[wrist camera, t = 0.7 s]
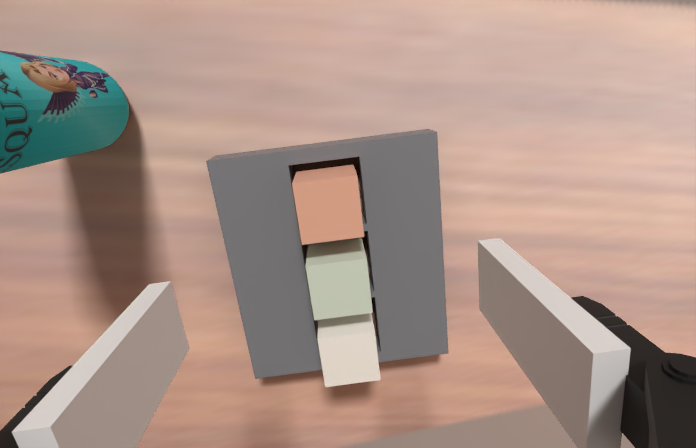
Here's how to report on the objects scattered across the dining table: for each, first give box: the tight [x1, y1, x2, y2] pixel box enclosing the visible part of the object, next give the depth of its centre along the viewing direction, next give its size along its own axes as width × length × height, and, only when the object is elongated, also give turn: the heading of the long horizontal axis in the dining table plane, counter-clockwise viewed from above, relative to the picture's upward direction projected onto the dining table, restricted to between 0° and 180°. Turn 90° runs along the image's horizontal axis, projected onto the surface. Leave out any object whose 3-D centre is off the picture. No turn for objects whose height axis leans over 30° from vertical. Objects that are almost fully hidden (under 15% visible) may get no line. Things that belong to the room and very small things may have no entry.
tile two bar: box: [306, 238, 373, 320], centre depth 29 cm, size 4×4×4 cm
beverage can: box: [0, 51, 129, 173], centre depth 22 cm, size 6×6×15 cm
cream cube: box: [317, 313, 380, 387], centre depth 31 cm, size 4×4×4 cm
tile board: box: [206, 129, 448, 379], centre depth 32 cm, size 16×18×2 cm
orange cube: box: [292, 165, 364, 245], centre depth 27 cm, size 4×4×4 cm
